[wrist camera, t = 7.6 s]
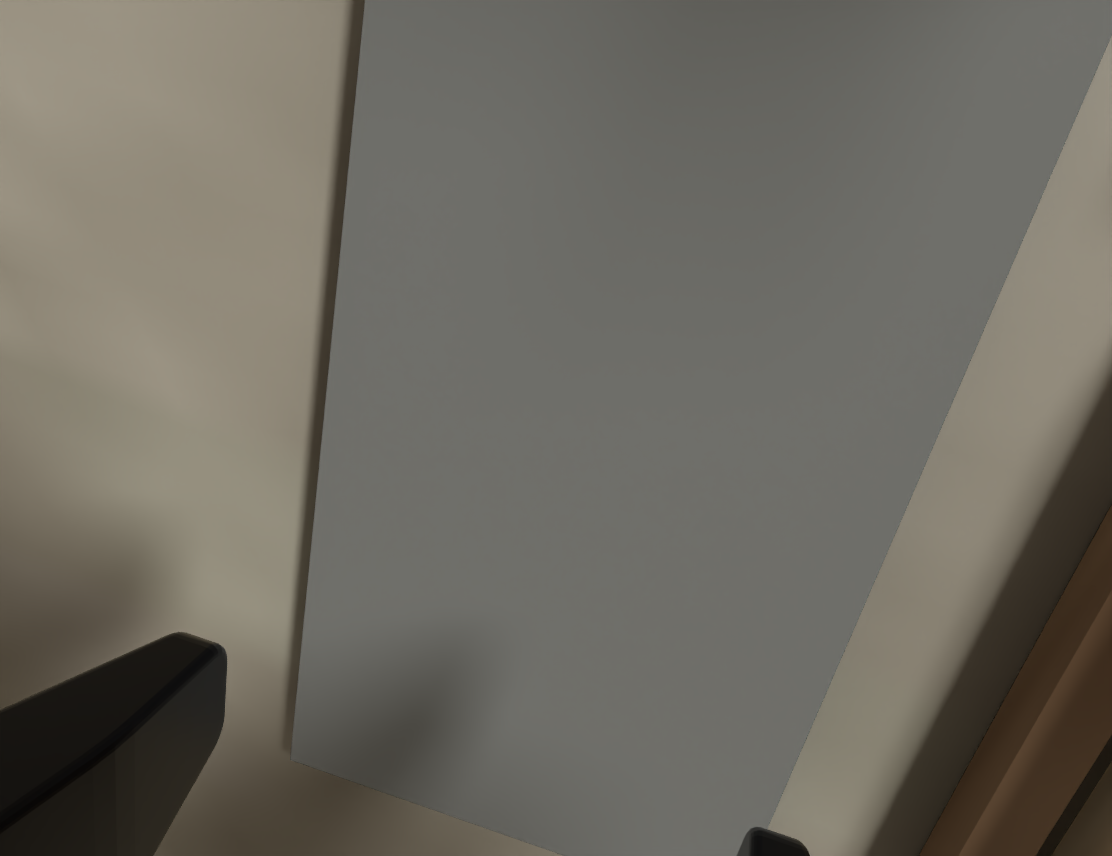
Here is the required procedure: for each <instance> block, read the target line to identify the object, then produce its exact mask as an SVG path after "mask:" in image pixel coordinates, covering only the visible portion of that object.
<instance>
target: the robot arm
mask: <svg viewBox="0 0 1112 856" xmlns="http://www.w3.org/2000/svg"><path fill="white" fill-rule="evenodd" d="M226 676H227V654H226V651H225V649H224V648H223V647H222V646H221V645H219V644H218V643H215V642H212V641H209V640H206V639H203V638H200V637H197V636H194V635H191V634H188V633H184V632H177V633H172V634H169V635H167V636H164V637H162V638H160V639H158V640H155V641H153V642H151V643H149V644H146V645H144V646H142V647H140V648H138V649H135V650H133V651H131V652H129V653H126V654H124V655H122V656H120V657H117V658H115V659H113V660H111V661H109V662H106V663H104V664H102V665H100V666H97V667H95V668H93V669H91V670H88V671H86V672H84V673H82V674H79V675H77V676H75V677H73V678H71V679H68V680H66V681H64V682H62V683H59V684H57V685H55V686H53V687H50V688H48V689H46V690H44V691H41V692H39V693H37V694H35V695H33V696H30V697H28V698H26V699H24V700H21V701H19V702H17V703H15V704H12V705H10V706H8V707H6V708H4V709H1V710H0V856H153V855H154V853H155V852H156V850H157V848H158V846H159V845H160V843H161V841H162V839H163V838H164V836H165V834H166V832H167V830H168V829H169V827H170V825H171V823H172V822H173V820H174V818H175V816H176V815H177V813H178V811H179V809H180V808H181V806H182V804H183V802H184V800H185V799H186V797H187V795H188V793H189V792H190V790H191V788H192V786H193V785H194V783H195V781H196V779H197V778H198V776H199V774H200V772H201V771H202V769H203V767H204V765H205V763H206V762H207V760H208V758H209V756H210V755H211V753H212V751H213V749H214V747H215V745H216V743H217V741H218V739H219V736H220V733H221V730H222V727H223V722H224V714H225V695H226ZM737 856H810V855H809V852H808V850H807V848H806V847H805V846H804V845H803V844H802V843H801V842H800V841H799V840H797V839H794V838H791V837H788V836H785V835H782V834H779V833H776V832H773V831H770V830H767V829H764V828H761V827H754V828H751V829H750V830H749V831H748V832H747V833H746V835H745V837H744V839H743V842H742V844H741V846H740V849H739V851H738V853H737Z"/></svg>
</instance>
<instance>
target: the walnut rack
mask: <svg viewBox="0 0 1112 856" xmlns="http://www.w3.org/2000/svg"><path fill="white" fill-rule="evenodd" d="M1111 735H1112V505H1111V507H1110V509H1109V511H1108V512H1107V514H1106V516H1105V518H1104V520H1103V521H1102V523H1101V525H1100V527H1099V529H1098V531H1097V532H1096V534H1095V536H1094V538H1093V540H1092V542H1091V543H1090V545H1089V547H1088V549H1087V551H1086V552H1085V554H1084V556H1083V558H1082V560H1081V562H1080V563H1079V565H1078V567H1077V569H1076V571H1075V572H1074V574H1073V576H1072V578H1071V580H1070V582H1069V583H1068V585H1067V587H1066V589H1065V591H1064V592H1063V594H1062V596H1061V598H1060V600H1059V602H1058V603H1057V605H1056V607H1055V609H1054V611H1053V613H1052V614H1051V616H1050V618H1049V620H1048V622H1047V623H1046V625H1045V627H1044V629H1043V631H1042V633H1041V634H1040V636H1039V638H1038V640H1037V642H1036V643H1035V645H1034V647H1033V649H1032V651H1031V653H1030V654H1029V656H1028V658H1027V660H1026V662H1025V663H1024V665H1023V667H1022V669H1021V671H1020V673H1019V674H1018V676H1017V678H1016V680H1015V682H1014V683H1013V685H1012V687H1011V689H1010V691H1009V693H1008V694H1007V696H1006V698H1005V700H1004V702H1003V704H1002V705H1001V707H1000V709H999V711H998V713H997V714H996V716H995V718H994V720H993V722H992V724H991V725H990V727H989V729H988V731H987V733H986V734H985V736H984V738H983V740H982V742H981V744H980V745H979V747H978V749H977V751H976V753H975V754H974V756H973V758H972V760H971V762H970V764H969V765H968V767H967V769H966V771H965V773H964V774H963V776H962V778H961V780H960V782H959V784H958V785H957V787H956V789H955V791H954V793H953V795H952V796H951V798H950V800H949V802H948V804H947V805H946V807H945V809H944V811H943V813H942V815H941V816H940V818H939V820H938V822H937V824H936V825H935V827H934V829H933V831H932V833H931V835H930V836H929V838H928V840H927V842H926V844H925V845H924V847H923V849H922V851H921V853H920V855H919V856H1035V855H1036V854H1037V852H1038V851H1039V849H1040V848H1041V846H1042V844H1043V843H1044V841H1045V840H1046V838H1047V836H1048V835H1049V833H1050V832H1051V830H1052V829H1053V827H1054V825H1055V824H1056V822H1057V821H1058V819H1059V817H1060V816H1061V814H1062V813H1063V811H1064V810H1065V808H1066V806H1067V805H1068V803H1069V802H1070V800H1071V798H1072V797H1073V795H1074V794H1075V792H1076V791H1077V789H1078V787H1079V786H1080V784H1081V783H1082V781H1083V779H1084V778H1085V776H1086V775H1087V773H1088V772H1089V770H1090V768H1091V767H1092V765H1093V764H1094V762H1095V760H1096V759H1097V757H1098V756H1099V754H1100V753H1101V751H1102V749H1103V748H1104V746H1105V745H1106V743H1107V741H1108V740H1109V738H1110V737H1111Z"/></svg>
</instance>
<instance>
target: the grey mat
mask: <svg viewBox="0 0 1112 856" xmlns="http://www.w3.org/2000/svg"><path fill="white" fill-rule="evenodd" d="M1111 36H1112V0H365V5H364V15H363V26H362V36H361V46H360V56H359V66H358V76H357V86H356V97H355V107H354V117H353V127H352V137H351V147H350V158H349V168H348V178H347V188H346V198H345V208H344V218H343V229H342V239H341V249H340V259H339V269H338V279H337V290H336V300H335V310H334V320H333V330H332V340H331V350H330V361H329V371H328V381H327V391H326V401H325V411H324V422H323V432H322V442H321V452H320V462H319V472H318V482H317V493H316V503H315V513H314V523H313V533H312V543H311V554H310V564H309V574H308V584H307V594H306V604H305V614H304V625H303V635H302V645H301V655H300V665H299V675H298V686H297V696H296V706H295V716H294V726H293V736H292V747H291V757H290V760H292V761H295V762H298V763H301V764H303V765H306V766H309V767H312V768H315V769H318V770H321V771H323V772H326V773H329V774H332V775H335V776H338V777H341V778H343V779H346V780H349V781H352V782H355V783H358V784H361V785H363V786H366V787H369V788H372V789H375V790H378V791H381V792H383V793H386V794H389V795H392V796H395V797H398V798H401V799H403V800H406V801H409V802H412V803H415V804H418V805H421V806H423V807H426V808H429V809H432V810H435V811H438V812H441V813H443V814H446V815H449V816H452V817H455V818H458V819H461V820H463V821H466V822H469V823H472V824H475V825H478V826H481V827H483V828H486V829H489V830H492V831H495V832H498V833H501V834H503V835H506V836H509V837H512V838H515V839H518V840H521V841H523V842H526V843H529V844H532V845H535V846H538V847H541V848H543V849H546V850H549V851H552V852H555V853H558V854H561V855H563V856H737V853H738V851H739V849H740V846H741V844H742V842H743V839H744V837H745V835H746V833H747V832H748V831H749V830H750V829H751V828H754V827H761V828H764V829H767V828H768V826H769V824H770V821H771V819H772V817H773V815H774V812H775V810H776V808H777V805H778V803H779V801H780V798H781V796H782V794H783V792H784V789H785V787H786V785H787V782H788V780H789V778H790V775H791V773H792V771H793V768H794V766H795V764H796V762H797V759H798V757H799V755H800V752H801V750H802V748H803V745H804V743H805V741H806V739H807V736H808V734H809V732H810V729H811V727H812V725H813V722H814V720H815V718H816V716H817V713H818V711H819V709H820V706H821V704H822V702H823V699H824V697H825V695H826V692H827V690H828V688H829V686H830V683H831V681H832V679H833V676H834V674H835V672H836V669H837V667H838V665H839V663H840V660H841V658H842V656H843V653H844V651H845V649H846V646H847V644H848V642H849V639H850V637H851V635H852V633H853V630H854V628H855V626H856V623H857V621H858V619H859V616H860V614H861V612H862V610H863V607H864V605H865V603H866V600H867V598H868V596H869V593H870V591H871V589H872V586H873V584H874V582H875V580H876V577H877V575H878V573H879V570H880V568H881V566H882V563H883V561H884V559H885V557H886V554H887V552H888V550H889V547H890V545H891V543H892V540H893V538H894V536H895V534H896V531H897V529H898V527H899V524H900V522H901V520H902V517H903V515H904V513H905V510H906V508H907V506H908V504H909V501H910V499H911V497H912V494H913V492H914V490H915V487H916V485H917V483H918V481H919V478H920V476H921V474H922V471H923V469H924V467H925V464H926V462H927V460H928V457H929V455H930V453H931V451H932V448H933V446H934V444H935V441H936V439H937V437H938V434H939V432H940V430H941V428H942V425H943V423H944V421H945V418H946V416H947V414H948V411H949V409H950V407H951V404H952V402H953V400H954V398H955V395H956V393H957V391H958V388H959V386H960V384H961V381H962V379H963V377H964V375H965V372H966V370H967V368H968V365H969V363H970V361H971V358H972V356H973V354H974V351H975V349H976V347H977V345H978V342H979V340H980V338H981V335H982V333H983V331H984V328H985V326H986V324H987V322H988V319H989V317H990V315H991V312H992V310H993V308H994V305H995V303H996V301H997V299H998V296H999V294H1000V292H1001V289H1002V287H1003V285H1004V282H1005V280H1006V278H1007V275H1008V273H1009V271H1010V269H1011V266H1012V264H1013V262H1014V259H1015V257H1016V255H1017V252H1018V250H1019V248H1020V246H1021V243H1022V241H1023V239H1024V236H1025V234H1026V232H1027V229H1028V227H1029V225H1030V222H1031V220H1032V218H1033V216H1034V213H1035V211H1036V209H1037V206H1038V204H1039V202H1040V199H1041V197H1042V195H1043V193H1044V190H1045V188H1046V186H1047V183H1048V181H1049V179H1050V176H1051V174H1052V172H1053V169H1054V167H1055V165H1056V163H1057V160H1058V158H1059V156H1060V153H1061V151H1062V149H1063V146H1064V144H1065V142H1066V140H1067V137H1068V135H1069V133H1070V130H1071V128H1072V126H1073V123H1074V121H1075V119H1076V117H1077V114H1078V112H1079V110H1080V107H1081V105H1082V103H1083V100H1084V98H1085V96H1086V93H1087V91H1088V89H1089V87H1090V84H1091V82H1092V80H1093V77H1094V75H1095V73H1096V70H1097V68H1098V66H1099V64H1100V61H1101V59H1102V57H1103V54H1104V52H1105V50H1106V47H1107V45H1108V43H1109V40H1110V38H1111Z"/></svg>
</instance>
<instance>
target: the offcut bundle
mask: <svg viewBox="0 0 1112 856" xmlns="http://www.w3.org/2000/svg"><path fill="white" fill-rule="evenodd" d="M1051 856H1112V762H1111V763H1110V765H1109V767H1108V768H1107V770H1106V771H1105V773H1104V774H1103V776H1102V777H1101V779H1100V781H1099V782H1098V784H1097V785H1096V787H1095V788H1094V790H1093V791H1092V793H1091V795H1090V796H1089V798H1088V799H1087V801H1086V802H1085V804H1084V805H1083V807H1082V809H1081V810H1080V812H1079V813H1078V815H1077V816H1076V818H1075V819H1074V821H1073V823H1072V824H1071V826H1070V827H1069V829H1068V830H1067V832H1066V833H1065V835H1064V837H1063V838H1062V840H1061V841H1060V843H1059V844H1058V846H1057V847H1056V849H1055V851H1054V852H1053V854H1052V855H1051Z"/></svg>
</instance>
